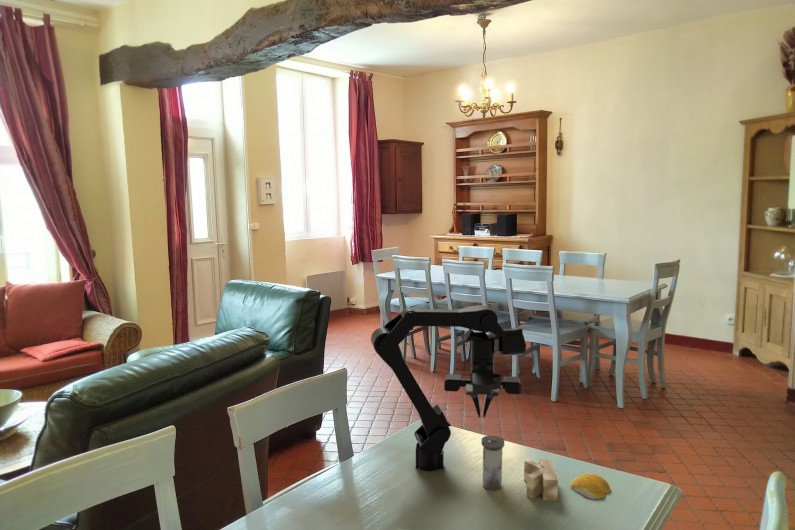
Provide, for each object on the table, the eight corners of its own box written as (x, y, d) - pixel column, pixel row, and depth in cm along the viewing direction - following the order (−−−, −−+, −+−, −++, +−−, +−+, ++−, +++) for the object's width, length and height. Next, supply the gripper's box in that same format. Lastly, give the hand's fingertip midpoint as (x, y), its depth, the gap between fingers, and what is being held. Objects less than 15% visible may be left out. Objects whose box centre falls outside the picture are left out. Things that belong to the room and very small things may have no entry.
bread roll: (614, 492, 133) (615, 475, 132) (598, 507, 126) (599, 489, 126) (581, 480, 138) (581, 464, 138) (563, 493, 132) (564, 477, 131)
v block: (527, 499, 127) (527, 478, 126) (523, 477, 137) (523, 458, 136) (557, 501, 126) (557, 480, 125) (551, 479, 136) (551, 459, 135)
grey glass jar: (480, 490, 131) (481, 444, 129) (480, 479, 136) (481, 435, 134) (503, 491, 130) (504, 445, 129) (502, 480, 135) (503, 436, 134)
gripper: (443, 364, 135) (442, 427, 137) (523, 367, 133) (521, 431, 134) (445, 351, 146) (445, 410, 148) (519, 354, 144) (518, 414, 145)
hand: (481, 416), depth 144 cm, fingers closed
